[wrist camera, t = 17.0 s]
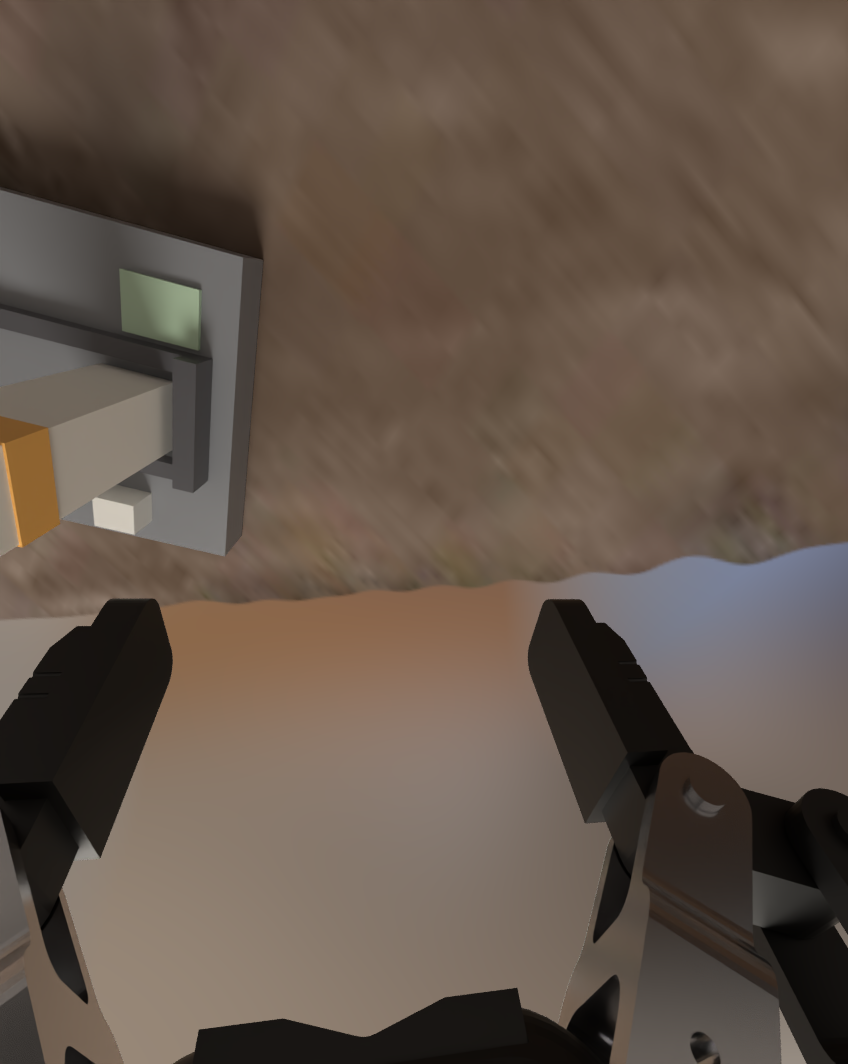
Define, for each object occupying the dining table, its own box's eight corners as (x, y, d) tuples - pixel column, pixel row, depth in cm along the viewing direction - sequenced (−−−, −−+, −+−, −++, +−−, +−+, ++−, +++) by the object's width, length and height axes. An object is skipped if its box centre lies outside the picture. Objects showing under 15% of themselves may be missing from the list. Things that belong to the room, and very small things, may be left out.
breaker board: (-76, 461, 33) (-157, 489, 29) (-159, 142, 25) (-290, 112, 20) (241, 535, 35) (212, 572, 30) (263, 259, 27) (227, 255, 22)
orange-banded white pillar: (103, 433, 28) (-132, 538, 17) (99, 360, 26) (-172, 422, 15) (176, 450, 28) (-6, 565, 17) (176, 380, 27) (-30, 455, 15)
